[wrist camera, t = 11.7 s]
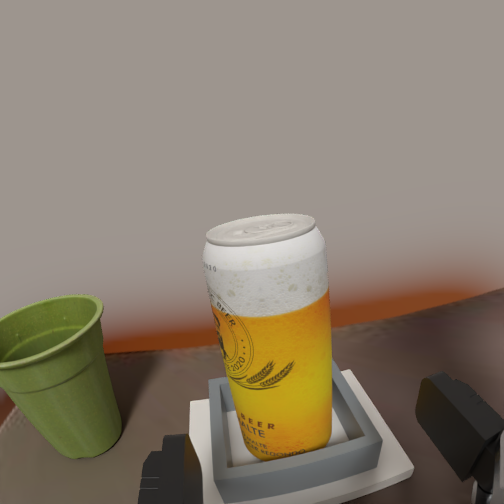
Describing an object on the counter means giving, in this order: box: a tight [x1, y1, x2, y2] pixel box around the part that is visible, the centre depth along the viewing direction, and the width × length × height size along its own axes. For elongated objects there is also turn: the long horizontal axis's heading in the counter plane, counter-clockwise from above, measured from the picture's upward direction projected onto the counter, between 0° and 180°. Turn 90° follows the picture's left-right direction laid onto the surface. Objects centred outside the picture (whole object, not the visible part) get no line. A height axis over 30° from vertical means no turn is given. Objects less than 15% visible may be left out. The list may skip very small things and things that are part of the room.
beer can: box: [202, 214, 332, 462], centre depth 18 cm, size 6×6×15 cm
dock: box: [189, 359, 415, 504], centre depth 20 cm, size 14×12×4 cm
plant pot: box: [0, 294, 122, 459], centre depth 21 cm, size 12×12×11 cm
